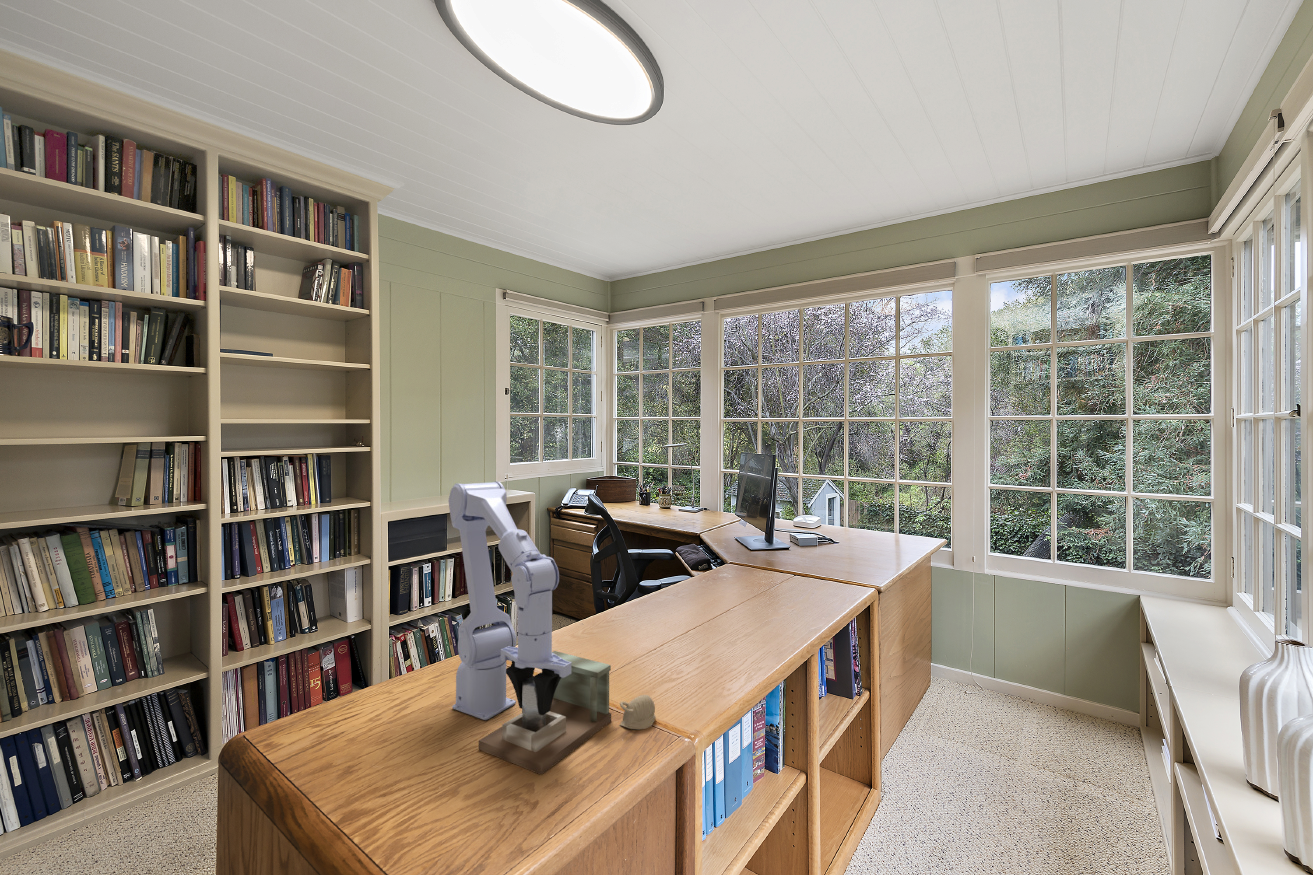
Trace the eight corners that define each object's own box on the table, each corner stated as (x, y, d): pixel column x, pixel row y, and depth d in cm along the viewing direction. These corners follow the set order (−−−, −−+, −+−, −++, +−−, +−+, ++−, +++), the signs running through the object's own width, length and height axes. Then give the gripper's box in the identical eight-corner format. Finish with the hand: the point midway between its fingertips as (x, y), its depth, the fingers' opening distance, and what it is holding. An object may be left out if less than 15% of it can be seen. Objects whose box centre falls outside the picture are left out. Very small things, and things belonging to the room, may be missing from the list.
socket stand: (478, 749, 92) (479, 687, 92) (553, 702, 108) (553, 650, 108) (541, 774, 85) (541, 707, 85) (611, 721, 101) (611, 665, 101)
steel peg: (517, 730, 93) (517, 683, 93) (534, 720, 96) (534, 674, 96) (533, 737, 91) (533, 689, 91) (550, 726, 94) (550, 680, 94)
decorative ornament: (661, 722, 101) (661, 693, 101) (624, 737, 96) (624, 706, 96) (648, 713, 104) (649, 685, 104) (611, 727, 99) (612, 697, 99)
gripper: (487, 629, 94) (487, 708, 94) (551, 645, 87) (551, 730, 86) (516, 618, 100) (516, 692, 100) (579, 632, 93) (579, 712, 93)
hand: (534, 709), depth 94 cm, fingers closed on steel peg, 4 cm apart
